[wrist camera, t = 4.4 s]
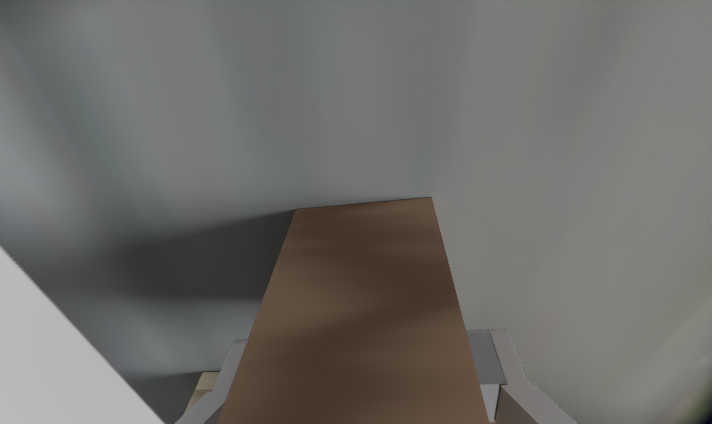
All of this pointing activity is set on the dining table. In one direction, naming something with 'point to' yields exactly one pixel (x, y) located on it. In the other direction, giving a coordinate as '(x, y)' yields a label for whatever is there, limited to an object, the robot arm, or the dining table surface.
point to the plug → (359, 326)
